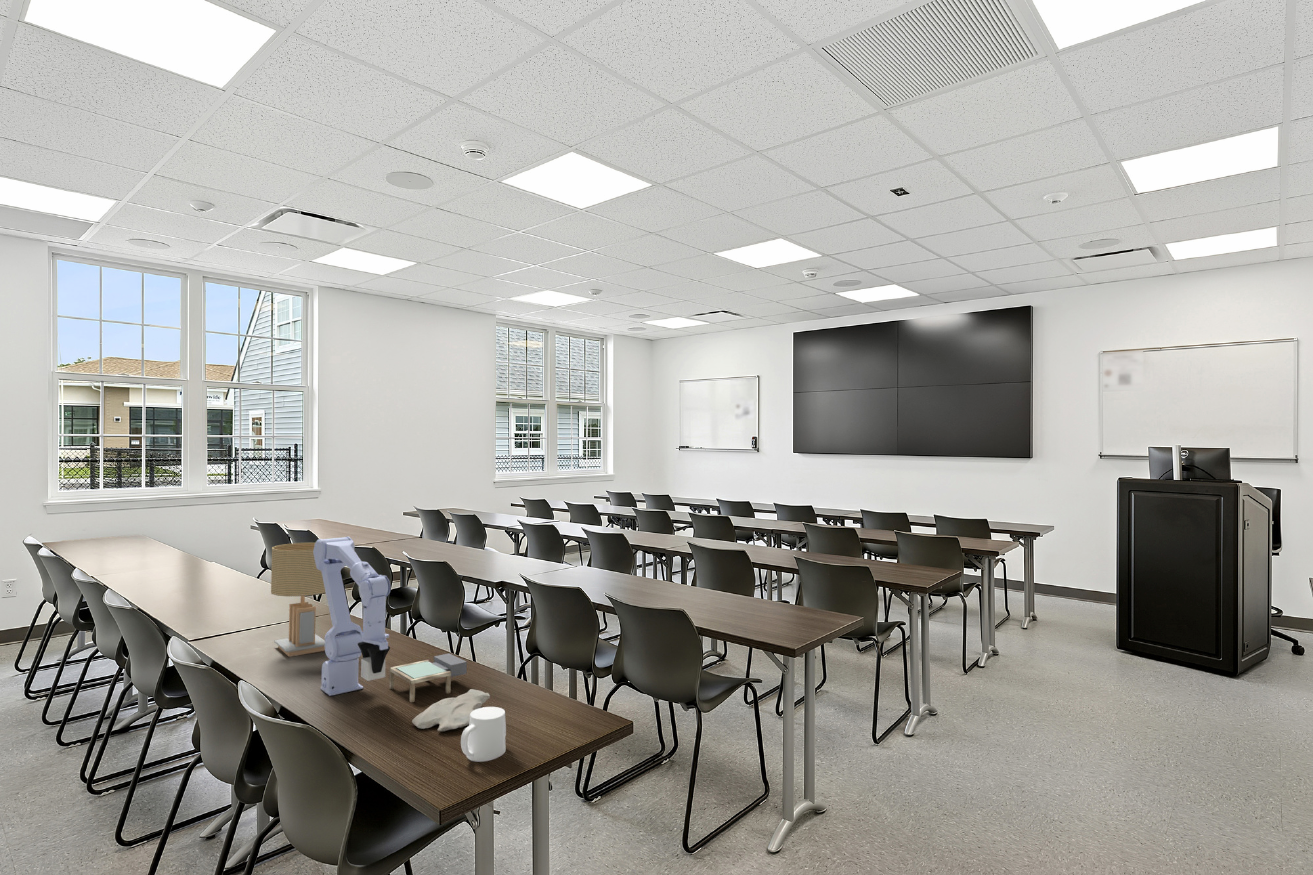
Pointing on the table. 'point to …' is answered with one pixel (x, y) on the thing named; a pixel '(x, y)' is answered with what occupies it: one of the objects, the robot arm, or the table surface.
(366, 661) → the white cube
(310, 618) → the desk lamp
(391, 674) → the trapdoor frame
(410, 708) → the table surface
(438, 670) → the trapdoor
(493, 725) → the mug
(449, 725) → the rock
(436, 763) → the table surface
